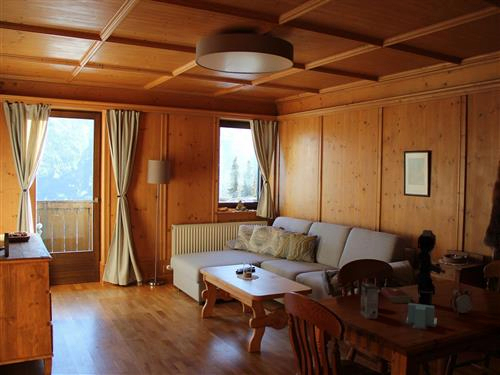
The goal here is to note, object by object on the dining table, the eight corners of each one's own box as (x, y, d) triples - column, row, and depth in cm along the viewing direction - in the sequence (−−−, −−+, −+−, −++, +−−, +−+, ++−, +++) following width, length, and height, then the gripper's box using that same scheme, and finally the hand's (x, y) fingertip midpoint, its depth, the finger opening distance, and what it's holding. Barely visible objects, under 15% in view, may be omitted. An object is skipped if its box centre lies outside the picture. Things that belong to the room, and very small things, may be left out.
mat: (408, 315, 244) (408, 314, 244) (437, 318, 239) (437, 318, 239) (404, 326, 225) (404, 326, 225) (435, 331, 220) (435, 330, 220)
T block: (408, 320, 234) (408, 302, 234) (433, 324, 229) (434, 306, 229) (406, 326, 226) (406, 307, 225) (433, 329, 221) (433, 311, 220)
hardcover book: (390, 303, 268) (390, 296, 268) (381, 293, 289) (381, 287, 289) (411, 303, 267) (412, 296, 267) (400, 294, 288) (401, 287, 288)
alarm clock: (455, 315, 245) (456, 287, 245) (449, 312, 250) (450, 284, 249) (473, 314, 248) (473, 286, 248) (466, 311, 253) (467, 283, 252)
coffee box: (359, 313, 246) (360, 282, 246) (371, 313, 247) (372, 282, 246) (365, 318, 237) (366, 287, 237) (378, 318, 238) (378, 287, 237)
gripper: (440, 263, 238) (440, 293, 239) (442, 257, 255) (441, 285, 256) (417, 261, 243) (416, 290, 243) (420, 255, 260) (419, 283, 260)
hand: (424, 287), depth 250 cm, fingers closed
